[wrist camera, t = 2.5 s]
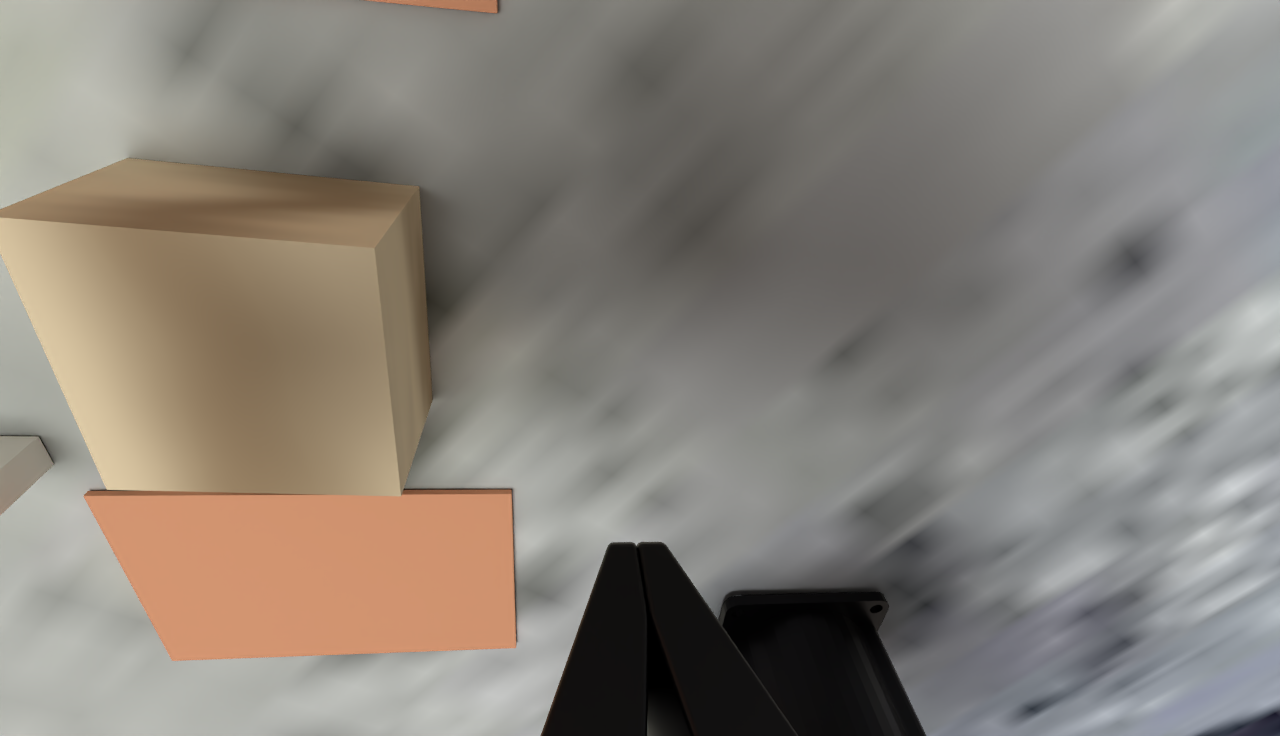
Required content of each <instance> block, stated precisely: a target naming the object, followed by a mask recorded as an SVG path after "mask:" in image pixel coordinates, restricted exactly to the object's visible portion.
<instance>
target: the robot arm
mask: <svg viewBox="0 0 1280 736" xmlns="http://www.w3.org/2000/svg"><path fill="white" fill-rule="evenodd" d="M888 608H889V605H888V603H887V601H886V599H885V597H884V595H883V594H882V593H880V592H854V593H818V594H781V595H745V596H733V597H731V598H728V599H727V600H726V601H725V602H724V604H723V607H722V611H721V615H720V619H719V621H718V619H717V618H716V616H715V615H714V614H713V612H712V611H711V609H710V608H709V606H708V605H707V603H706V602H705V601H704V599H703V598H702V596H701V595H700V593H699V592H698V590H697V589H696V588H695V586H694V585H693V583H692V582H691V580H690V579H689V577H688V576H687V574H686V573H685V572H684V570H683V569H682V567H681V566H680V564H679V563H678V561H677V560H676V559H675V557H674V556H673V554H672V553H671V551H670V550H669V548H668V547H667V546H666V545H665V544H664V543H662V542H640V543H638V544H637V546H636V545H635V544H634V543H632V542H613V543H610V544H609V545H608V547H607V550H606V553H605V555H604V558H603V561H602V564H601V567H600V570H599V572H598V575H597V578H596V581H595V584H594V587H593V589H592V592H591V595H590V598H589V601H588V604H587V606H586V609H585V612H584V615H583V618H582V620H581V623H580V626H579V629H578V632H577V635H576V637H575V640H574V643H573V646H572V649H571V652H570V654H569V657H568V660H567V663H566V666H565V668H564V671H563V674H562V677H561V680H560V683H559V685H558V688H557V691H556V694H555V697H554V700H553V702H552V705H551V708H550V711H549V714H548V717H547V719H546V722H545V725H544V728H543V731H542V733H541V736H926V734H925V732H924V730H923V728H922V726H921V723H920V721H919V719H918V717H917V715H916V713H915V711H914V709H913V707H912V704H911V702H910V700H909V698H908V696H907V694H906V692H905V690H904V688H903V685H902V683H901V681H900V679H899V677H898V675H897V673H896V671H895V669H894V666H893V664H892V662H891V660H890V658H889V656H888V654H887V652H886V650H885V648H884V645H883V643H882V641H881V639H880V637H879V635H878V633H877V631H878V629H879V627H880V625H881V623H882V621H883V619H884V617H885V615H886V613H887V611H888Z"/></svg>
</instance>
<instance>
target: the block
mask: <svg viewBox="0 0 1280 736" xmlns="http://www.w3.org/2000/svg"><path fill="white" fill-rule="evenodd" d="M0 254H1V256H2V258H3V260H4V263H5V265H6V267H7V269H8V272H9V274H10V276H11V278H12V280H13V283H14V285H15V287H16V289H17V291H18V294H19V296H20V298H21V300H22V303H23V305H24V307H25V309H26V311H27V314H28V316H29V318H30V320H31V322H32V325H33V327H34V329H35V331H36V334H37V336H38V338H39V340H40V342H41V345H42V347H43V349H44V351H45V354H46V356H47V358H48V360H49V362H50V365H51V367H52V369H53V371H54V373H55V376H56V378H57V380H58V382H59V385H60V387H61V389H62V391H63V393H64V396H65V398H66V400H67V402H68V405H69V407H70V409H71V411H72V413H73V416H74V418H75V420H76V422H77V424H78V427H79V429H80V431H81V433H82V436H83V438H84V440H85V442H86V444H87V447H88V449H89V451H90V453H91V456H92V458H93V460H94V462H95V464H96V467H97V469H98V471H99V473H100V475H101V478H102V480H103V482H104V484H105V487H106V489H107V490H140V491H184V492H228V493H272V494H316V495H359V496H401V495H402V492H403V489H404V486H405V483H406V480H407V477H408V474H409V471H410V468H411V465H412V461H413V458H414V455H415V452H416V449H417V446H418V443H419V440H420V437H421V434H422V431H423V428H424V425H425V421H426V418H427V415H428V412H429V409H430V406H431V403H432V400H433V398H432V382H431V366H430V350H429V334H428V318H427V302H426V286H425V270H424V254H423V238H422V222H421V206H420V190H419V186H410V185H399V184H389V183H379V182H369V181H358V180H348V179H338V178H327V177H317V176H307V175H296V174H286V173H276V172H266V171H255V170H245V169H235V168H224V167H214V166H204V165H194V164H183V163H173V162H163V161H152V160H142V159H132V158H126V159H124V160H122V161H119V162H117V163H114V164H112V165H109V166H107V167H104V168H102V169H99V170H97V171H94V172H92V173H89V174H87V175H84V176H82V177H79V178H77V179H74V180H72V181H69V182H67V183H64V184H62V185H60V186H57V187H55V188H52V189H50V190H47V191H45V192H42V193H40V194H37V195H35V196H32V197H30V198H27V199H25V200H22V201H20V202H17V203H15V204H12V205H10V206H7V207H5V208H2V209H0Z"/></svg>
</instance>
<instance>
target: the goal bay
mask: <svg viewBox="0 0 1280 736" xmlns="http://www.w3.org/2000/svg"><path fill="white" fill-rule="evenodd" d="M53 465H54V464H53V462H52V460H51V458H50V456H49V455H48V453H47V451H46V449H45V447H44V446H43V444H42V442H41V440H40V438H39V437H38V436H0V515H1V514H2V513H3V512H4V511H5V510H6V509H7V508H9V507H10V506H11V505H12V504H13V503H14V502H15V501H16V500H17V499H18V498H19V497H20V496H21V495H22V494H23V493H24V492H26V491H27V490H28V489H29V488H30V487H31V486H32V485H33V484H34V483H35V482H36V481H37V480H38V479H39V478H40V477H41V476H43V475H44V474H45V473H46V472H47V471H48V470H49V469H50V468H51V467H52V466H53Z"/></svg>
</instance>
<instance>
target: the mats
mask: <svg viewBox="0 0 1280 736" xmlns="http://www.w3.org/2000/svg"><path fill="white" fill-rule="evenodd" d="M366 1H376V2H386V3H396V4H406V5H417V6H427V7H437V8H447V9H457V10H468V11H478V12H488V13H498V5H497V0H366ZM84 498H85V500H86V502H87V504H88V505H89V507H90V509H91V511H92V513H93V515H94V517H95V518H96V520H97V522H98V524H99V526H100V528H101V529H102V531H103V533H104V535H105V537H106V539H107V541H108V542H109V544H110V546H111V548H112V550H113V552H114V554H115V555H116V557H117V559H118V561H119V563H120V565H121V567H122V568H123V570H124V572H125V574H126V576H127V578H128V579H129V581H130V583H131V585H132V587H133V589H134V591H135V592H136V594H137V596H138V598H139V600H140V602H141V604H142V605H143V607H144V609H145V611H146V613H147V615H148V617H149V618H150V620H151V622H152V624H153V626H154V628H155V629H156V631H157V633H158V635H159V637H160V639H161V641H162V642H163V644H164V646H165V648H166V650H167V652H168V654H169V655H170V657H171V659H172V661H179V660H206V659H233V658H259V657H286V656H313V655H340V654H367V653H393V652H420V651H447V650H474V649H501V648H516V615H515V581H514V547H513V513H512V490H403V492H402V495H401V496H359V495H316V494H272V493H228V492H184V491H88V492H87V493H86V494H85V495H84Z"/></svg>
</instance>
